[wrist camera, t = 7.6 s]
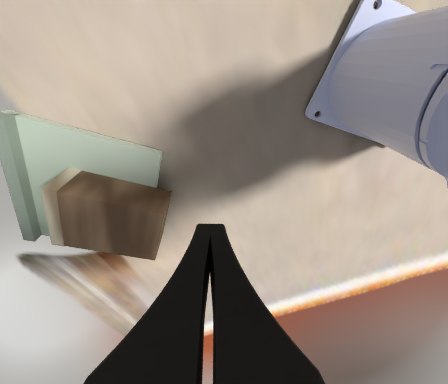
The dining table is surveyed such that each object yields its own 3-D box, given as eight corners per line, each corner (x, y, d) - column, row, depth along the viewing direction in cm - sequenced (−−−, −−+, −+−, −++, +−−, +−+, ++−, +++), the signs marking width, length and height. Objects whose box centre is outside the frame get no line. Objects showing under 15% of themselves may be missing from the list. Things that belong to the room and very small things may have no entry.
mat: (163, 151, 18) (158, 159, 17) (147, 247, 25) (142, 259, 24) (8, 109, 16) (-14, 114, 15) (36, 227, 23) (23, 239, 21)
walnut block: (164, 214, 17) (40, 188, 15) (154, 260, 20) (51, 244, 18) (171, 190, 20) (69, 166, 18) (162, 234, 23) (74, 218, 21)
